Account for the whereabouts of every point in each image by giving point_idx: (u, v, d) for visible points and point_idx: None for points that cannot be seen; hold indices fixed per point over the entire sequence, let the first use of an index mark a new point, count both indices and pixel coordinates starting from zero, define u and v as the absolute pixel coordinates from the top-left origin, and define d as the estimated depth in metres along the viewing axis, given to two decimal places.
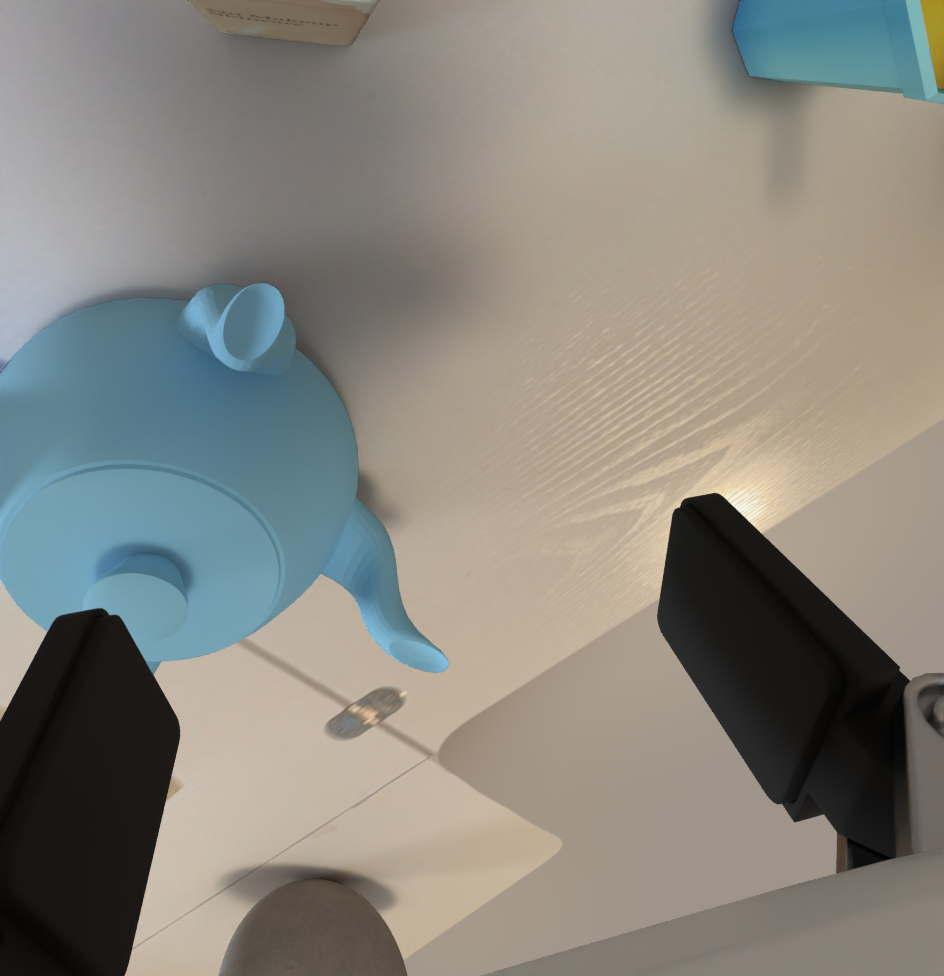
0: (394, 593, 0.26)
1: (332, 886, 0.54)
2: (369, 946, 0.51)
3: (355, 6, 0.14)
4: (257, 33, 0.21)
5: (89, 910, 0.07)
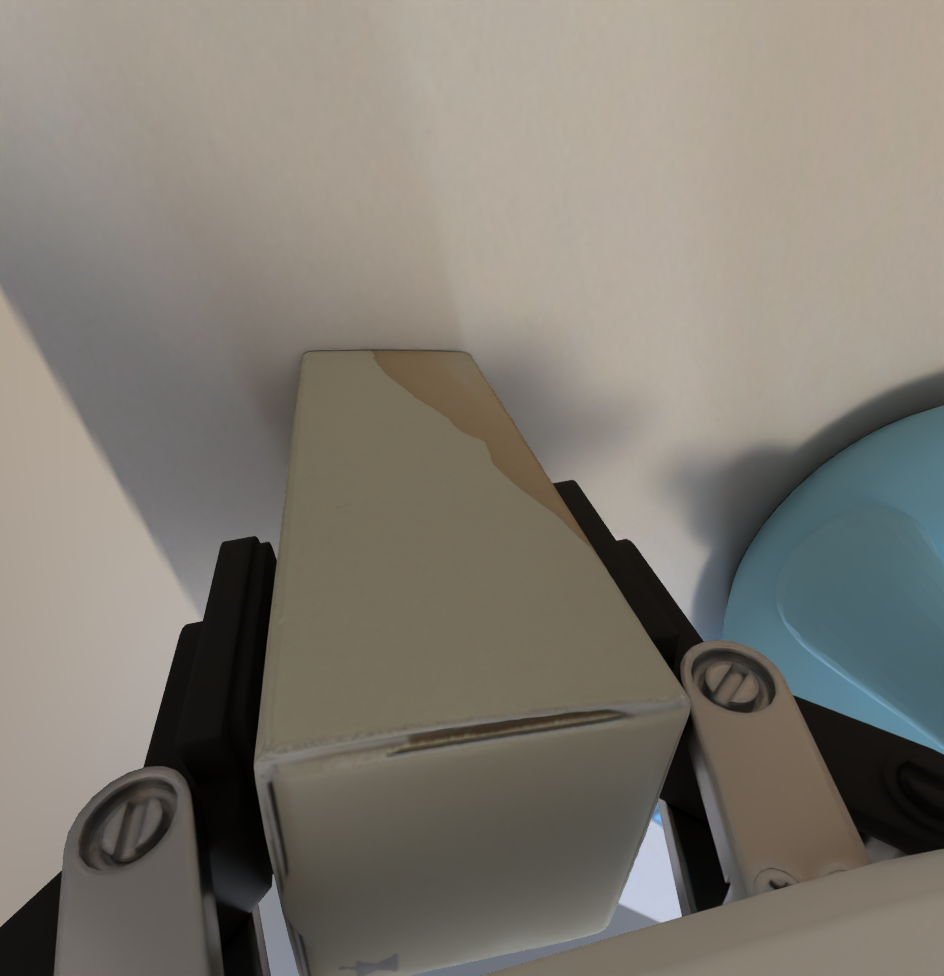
0: None
1: None
2: None
3: None
4: None
5: None
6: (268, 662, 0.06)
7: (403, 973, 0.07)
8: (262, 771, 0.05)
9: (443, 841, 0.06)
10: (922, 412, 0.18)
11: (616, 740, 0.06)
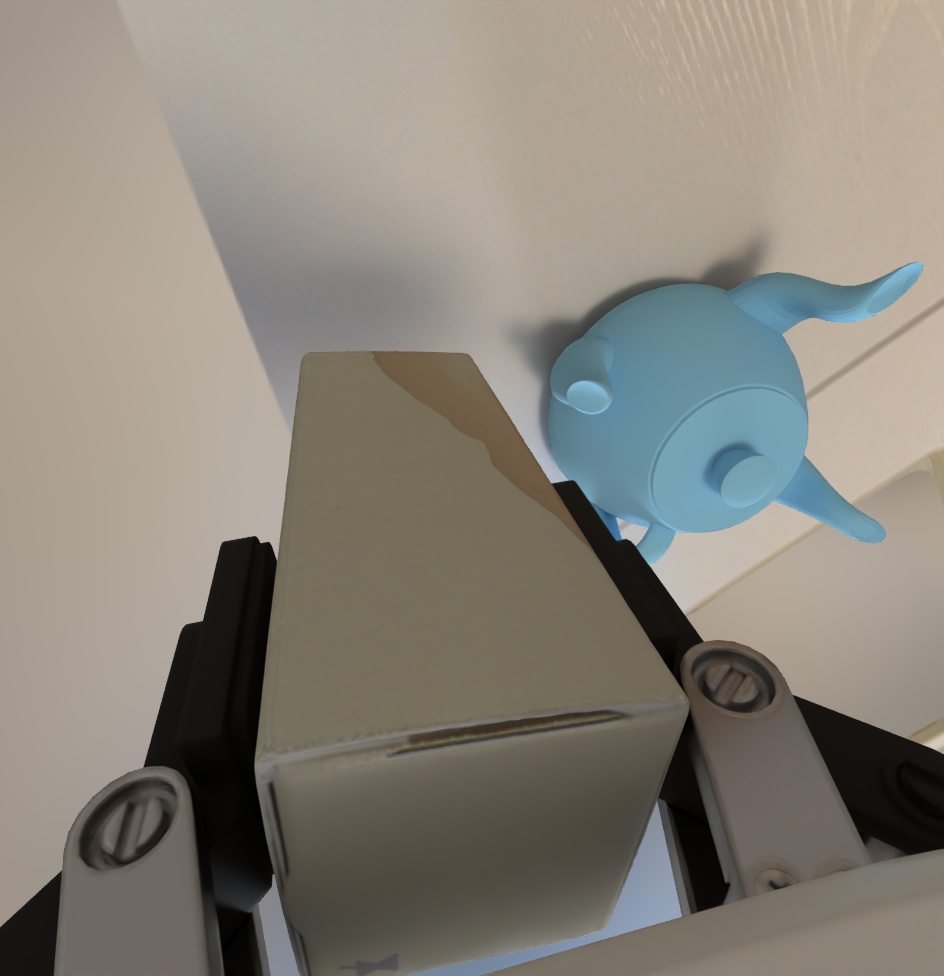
0: (823, 292, 0.29)
1: None
2: None
3: None
4: None
5: None
6: (268, 663, 0.06)
7: (403, 973, 0.07)
8: (263, 771, 0.05)
9: (443, 841, 0.06)
10: None
11: (615, 742, 0.06)
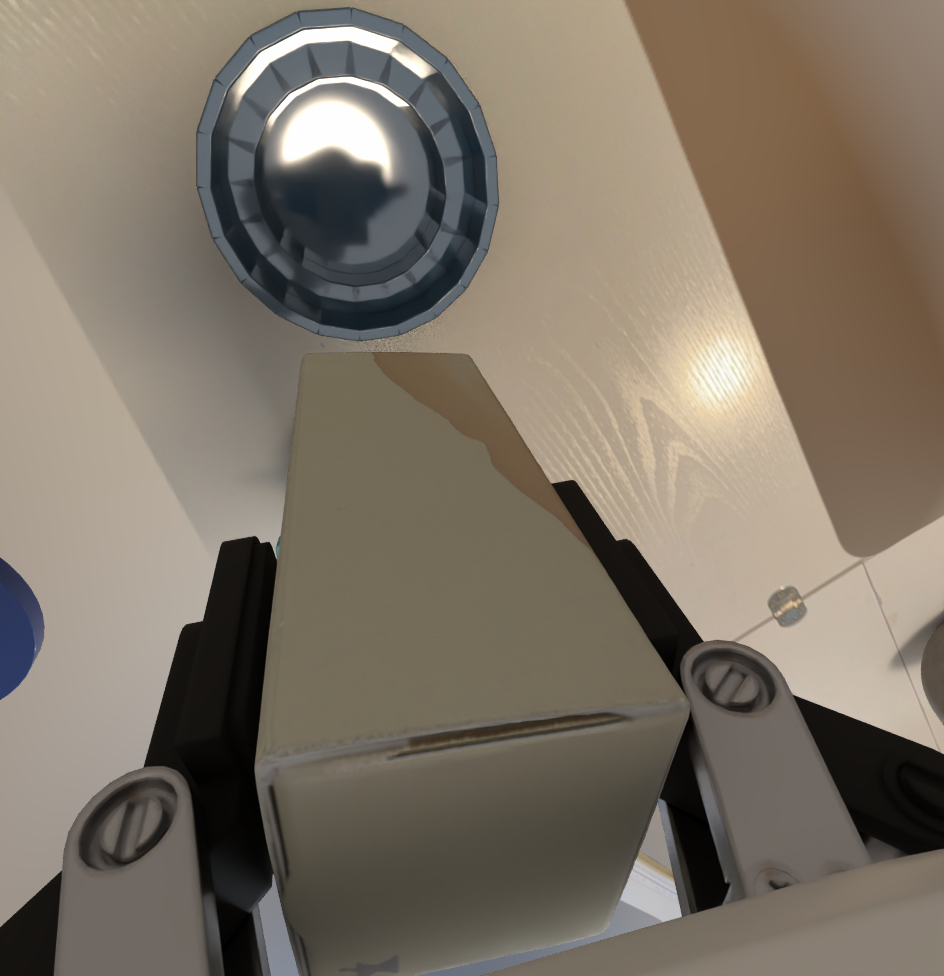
0: None
1: None
2: None
3: None
4: None
5: None
6: (269, 665, 0.06)
7: (403, 975, 0.07)
8: (263, 774, 0.05)
9: (444, 844, 0.06)
10: None
11: (616, 744, 0.06)
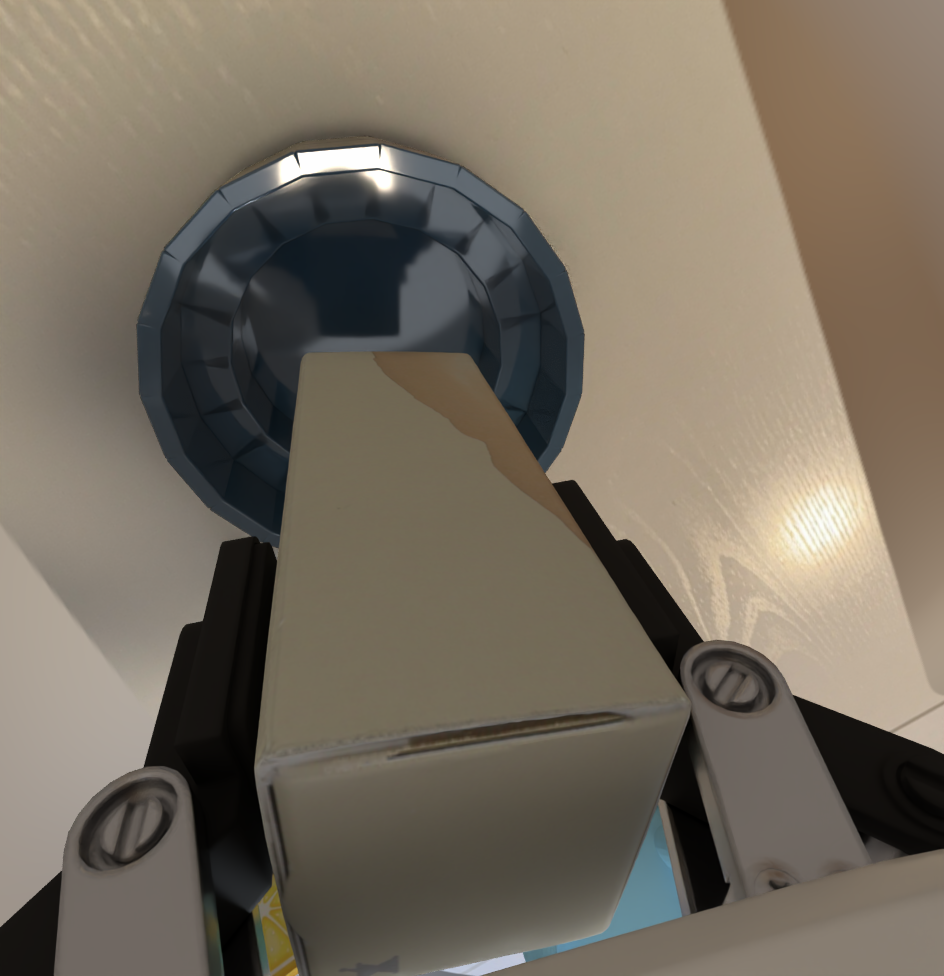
0: None
1: None
2: None
3: None
4: None
5: None
6: (268, 665, 0.06)
7: (404, 975, 0.07)
8: (262, 774, 0.05)
9: (444, 842, 0.06)
10: None
11: (617, 743, 0.06)
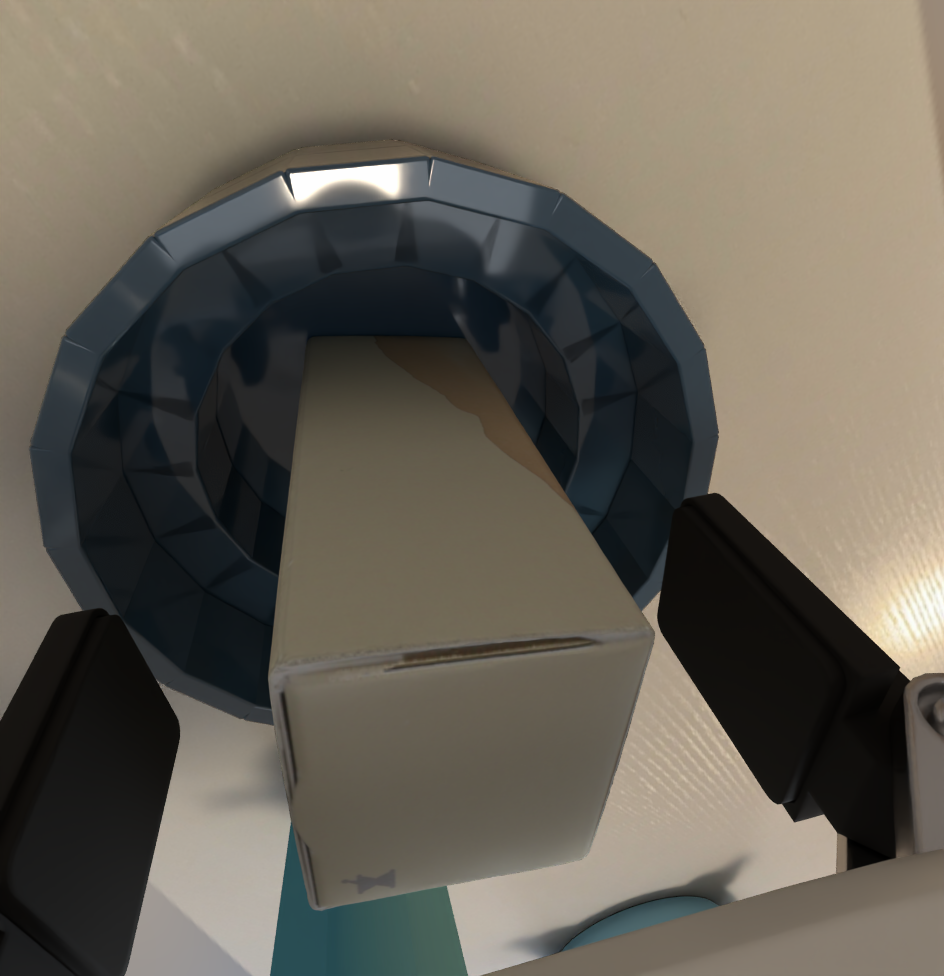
0: None
1: None
2: None
3: None
4: None
5: (89, 910, 0.07)
6: (279, 596, 0.07)
7: (400, 890, 0.08)
8: (276, 681, 0.06)
9: (435, 756, 0.07)
10: (628, 917, 0.40)
11: (587, 666, 0.06)
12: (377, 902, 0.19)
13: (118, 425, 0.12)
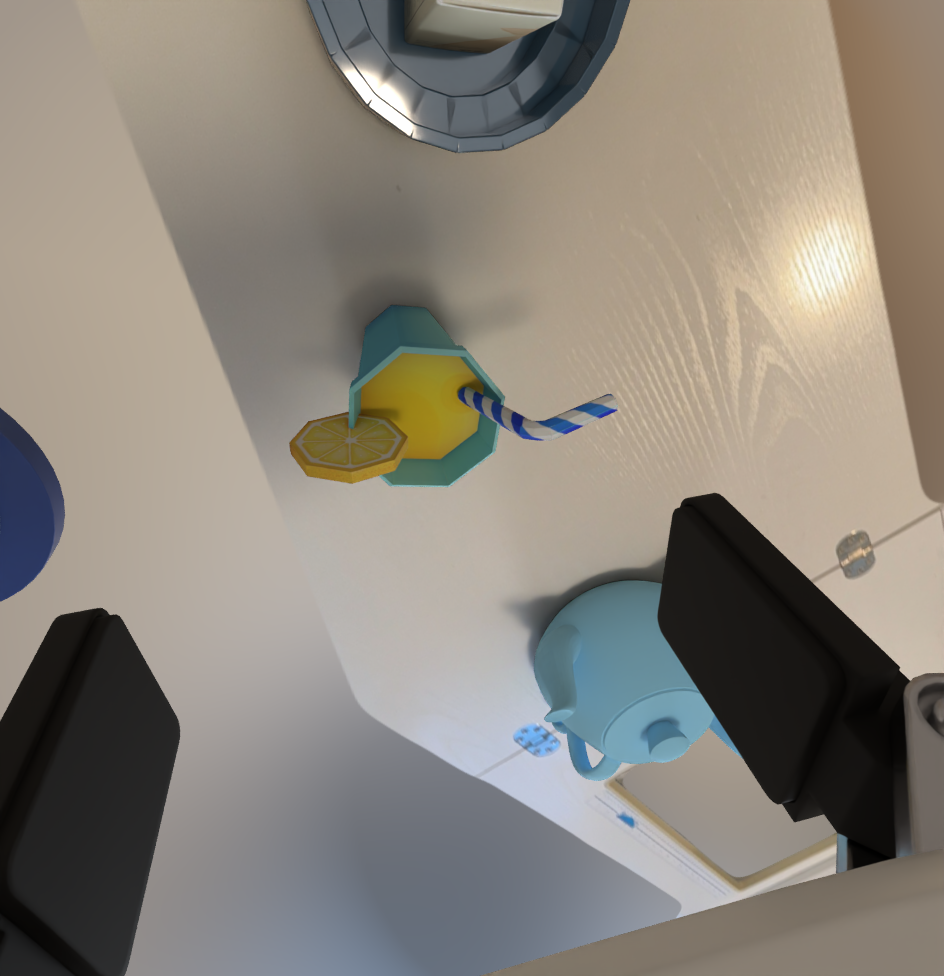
0: None
1: None
2: None
3: None
4: None
5: (89, 910, 0.07)
6: None
7: None
8: None
9: None
10: (602, 586, 0.50)
11: None
12: (428, 333, 0.29)
13: None
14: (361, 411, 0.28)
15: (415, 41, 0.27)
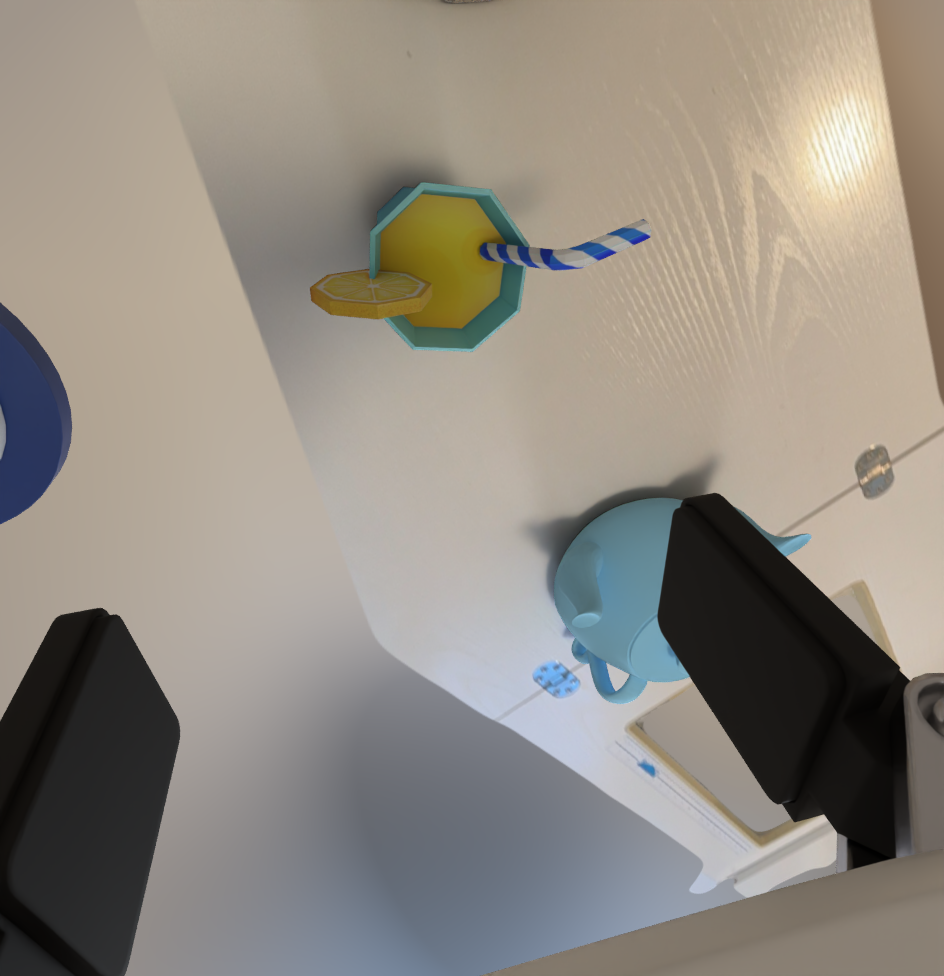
0: None
1: None
2: None
3: None
4: None
5: (89, 910, 0.07)
6: None
7: None
8: None
9: None
10: (621, 505, 0.49)
11: None
12: None
13: None
14: None
15: None
